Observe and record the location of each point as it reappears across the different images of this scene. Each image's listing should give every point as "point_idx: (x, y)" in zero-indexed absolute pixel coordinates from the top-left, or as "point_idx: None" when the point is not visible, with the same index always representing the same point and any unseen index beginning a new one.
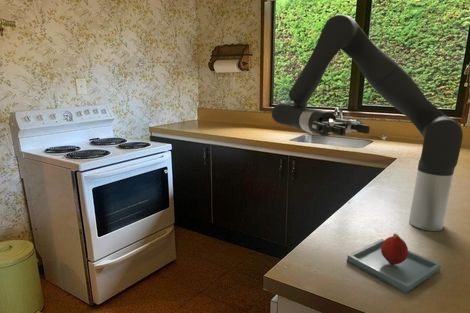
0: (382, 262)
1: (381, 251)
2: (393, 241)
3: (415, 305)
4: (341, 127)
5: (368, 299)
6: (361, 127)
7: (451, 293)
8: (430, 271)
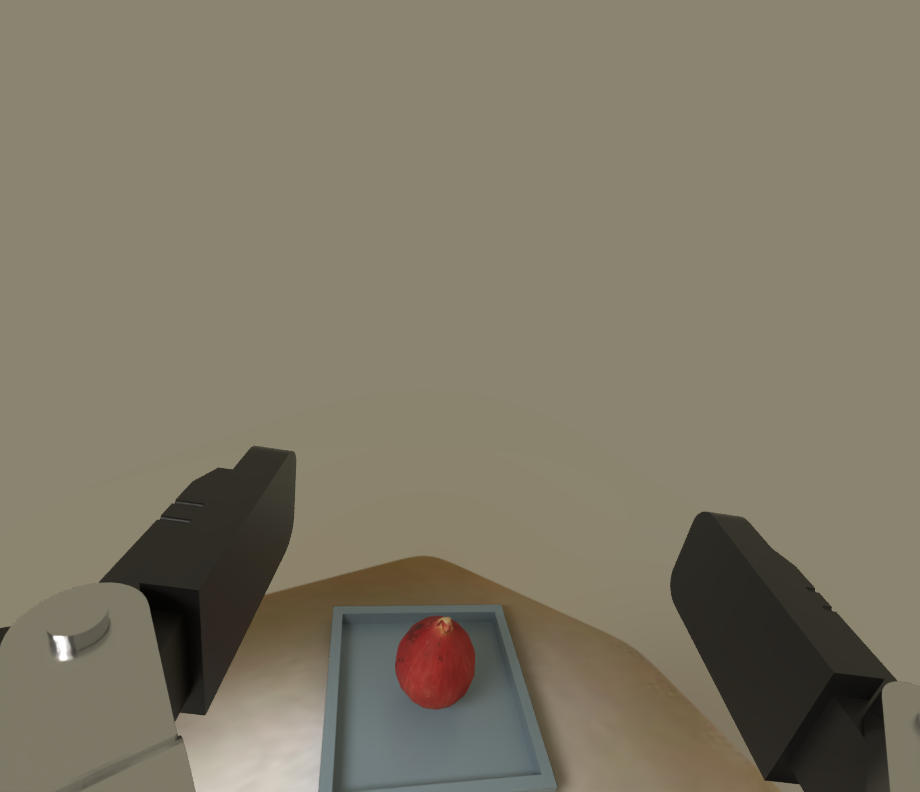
0: (448, 718)
1: (466, 691)
2: (460, 631)
3: (509, 595)
4: (757, 541)
5: (594, 650)
6: (252, 553)
7: (404, 577)
8: (392, 606)
